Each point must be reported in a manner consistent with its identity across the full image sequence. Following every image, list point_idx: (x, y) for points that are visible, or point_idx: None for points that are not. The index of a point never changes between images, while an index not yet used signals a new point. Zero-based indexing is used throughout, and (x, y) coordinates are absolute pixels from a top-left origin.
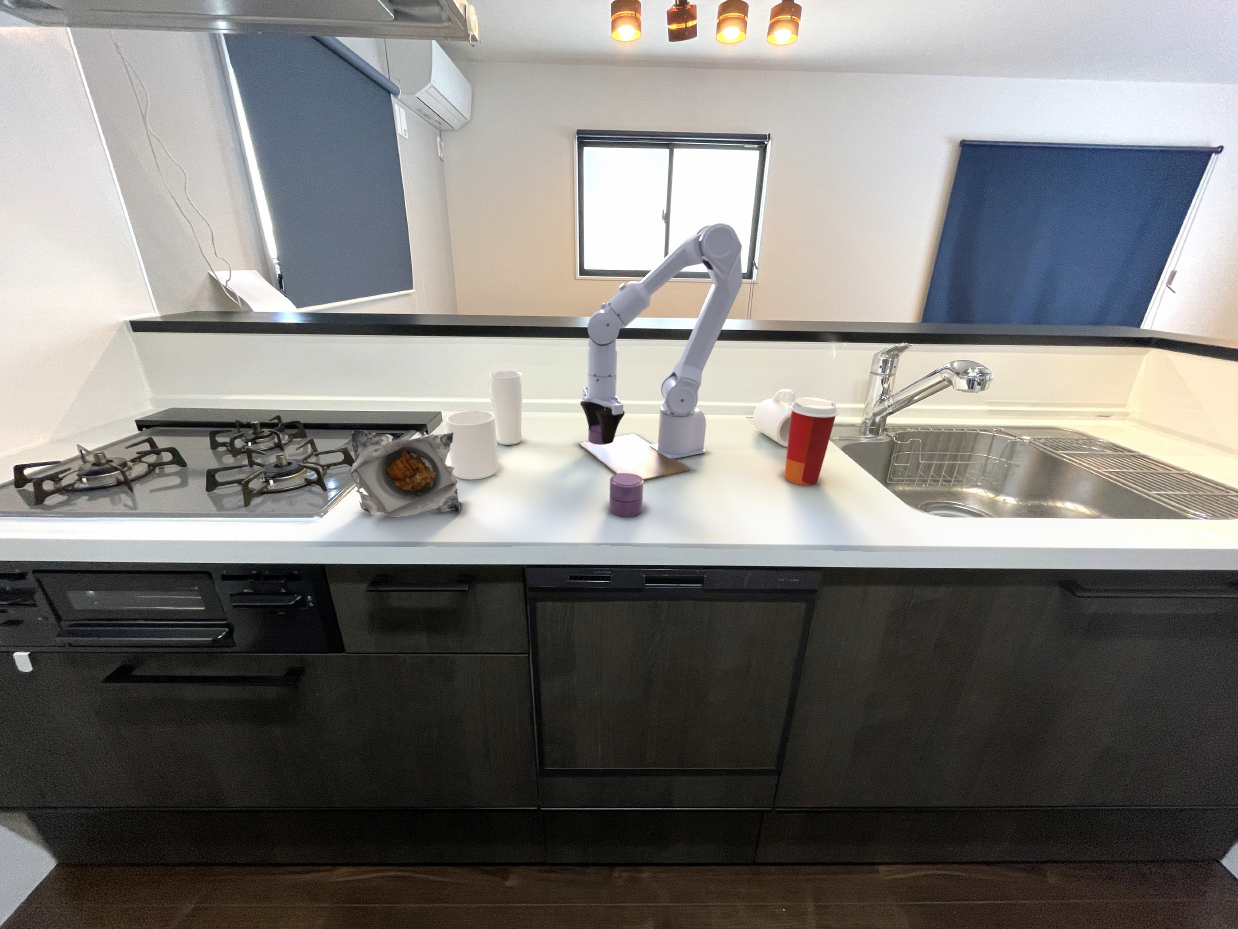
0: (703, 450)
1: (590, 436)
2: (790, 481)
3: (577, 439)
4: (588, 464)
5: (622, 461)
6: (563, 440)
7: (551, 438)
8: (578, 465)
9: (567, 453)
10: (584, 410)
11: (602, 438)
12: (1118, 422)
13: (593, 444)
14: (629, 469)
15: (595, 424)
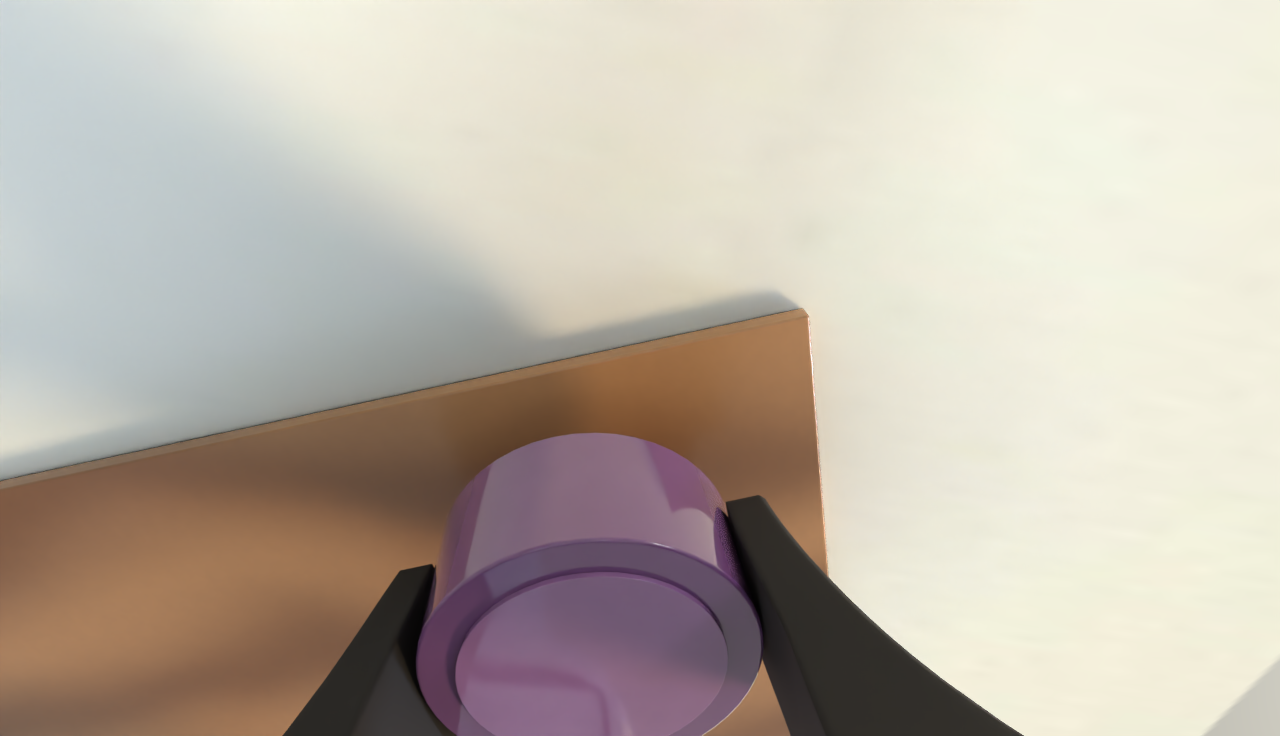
0: None
1: (525, 494)
2: None
3: (957, 321)
4: (209, 298)
5: (237, 588)
6: (1002, 162)
7: (1147, 16)
8: (171, 184)
9: (573, 127)
10: (941, 728)
11: (392, 606)
12: None
13: (713, 443)
14: (44, 605)
15: (765, 636)
